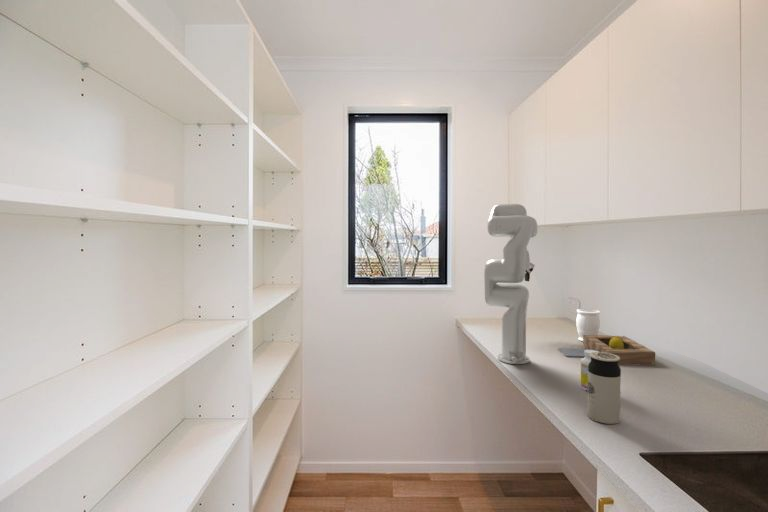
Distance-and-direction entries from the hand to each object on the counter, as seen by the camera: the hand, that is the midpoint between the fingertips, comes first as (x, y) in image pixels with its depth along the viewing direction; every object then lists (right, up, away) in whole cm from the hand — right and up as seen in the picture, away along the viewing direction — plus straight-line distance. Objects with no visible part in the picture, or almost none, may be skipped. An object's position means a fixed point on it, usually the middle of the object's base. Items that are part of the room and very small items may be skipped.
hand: (518, 281), depth 199 cm
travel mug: (-6, -33, -88) cm, 94 cm away
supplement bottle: (+2, -32, -67) cm, 74 cm away
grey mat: (+16, -30, -27) cm, 43 cm away
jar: (+32, -29, -6) cm, 44 cm away
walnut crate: (+33, -30, -29) cm, 53 cm away
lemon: (+33, -30, -29) cm, 53 cm away
